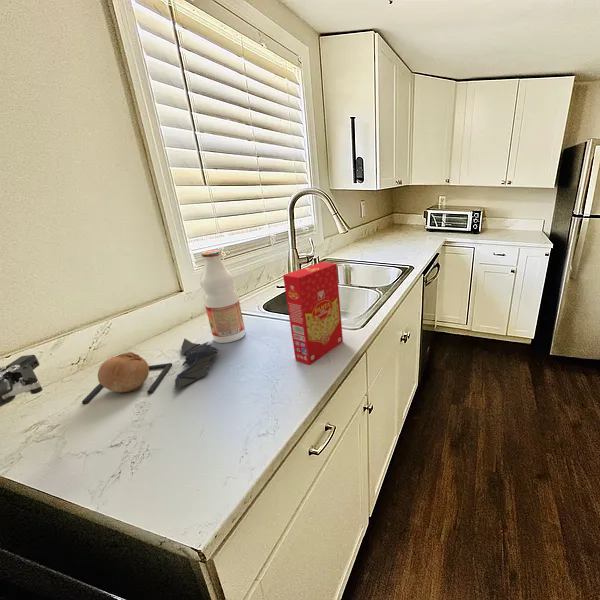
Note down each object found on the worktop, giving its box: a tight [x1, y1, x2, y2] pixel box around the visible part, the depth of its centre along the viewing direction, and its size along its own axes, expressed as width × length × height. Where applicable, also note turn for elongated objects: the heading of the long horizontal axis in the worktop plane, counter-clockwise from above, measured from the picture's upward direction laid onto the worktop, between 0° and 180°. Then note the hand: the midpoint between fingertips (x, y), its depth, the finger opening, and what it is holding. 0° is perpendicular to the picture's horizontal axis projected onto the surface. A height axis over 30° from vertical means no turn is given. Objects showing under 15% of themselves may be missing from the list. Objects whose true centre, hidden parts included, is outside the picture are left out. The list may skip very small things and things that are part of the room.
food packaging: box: [282, 261, 344, 366], centre depth 92 cm, size 15×5×25 cm, turn 152°
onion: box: [97, 351, 150, 394], centre depth 79 cm, size 10×9×10 cm
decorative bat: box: [174, 338, 219, 390], centre depth 91 cm, size 30×4×10 cm
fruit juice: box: [199, 249, 246, 344], centre depth 100 cm, size 9×9×28 cm
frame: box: [81, 362, 173, 405], centre depth 82 cm, size 14×13×1 cm
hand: (31, 359), depth 55 cm, fingers closed
